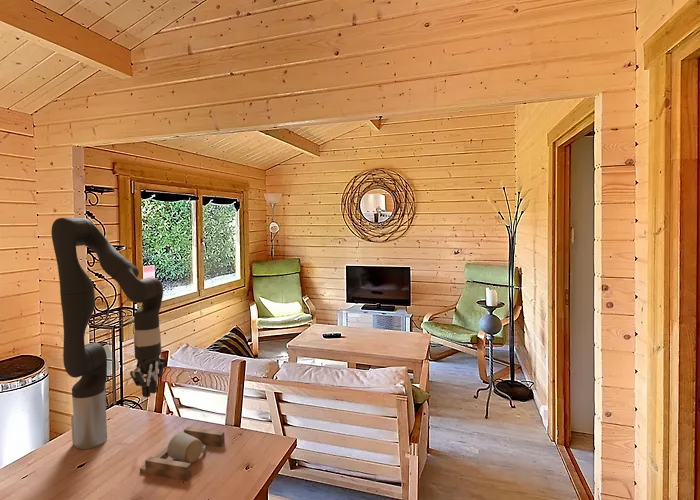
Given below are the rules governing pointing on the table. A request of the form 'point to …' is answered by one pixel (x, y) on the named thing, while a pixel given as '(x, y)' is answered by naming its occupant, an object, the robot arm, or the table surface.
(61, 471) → the table surface
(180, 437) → the ceramic mug
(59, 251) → the robot arm
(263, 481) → the table surface
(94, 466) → the table surface
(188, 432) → the cradle
